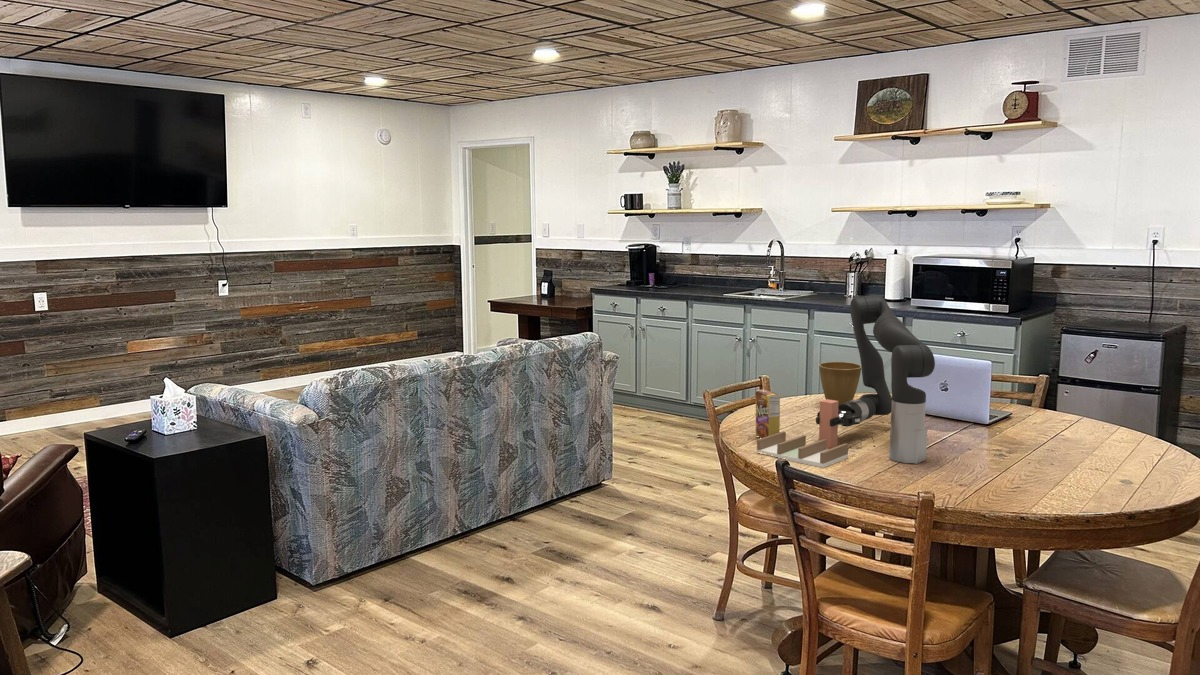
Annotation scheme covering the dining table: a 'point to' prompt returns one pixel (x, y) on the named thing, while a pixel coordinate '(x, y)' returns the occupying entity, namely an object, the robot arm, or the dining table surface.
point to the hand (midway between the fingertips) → (824, 421)
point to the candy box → (767, 413)
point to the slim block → (828, 422)
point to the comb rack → (802, 450)
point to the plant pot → (839, 380)
